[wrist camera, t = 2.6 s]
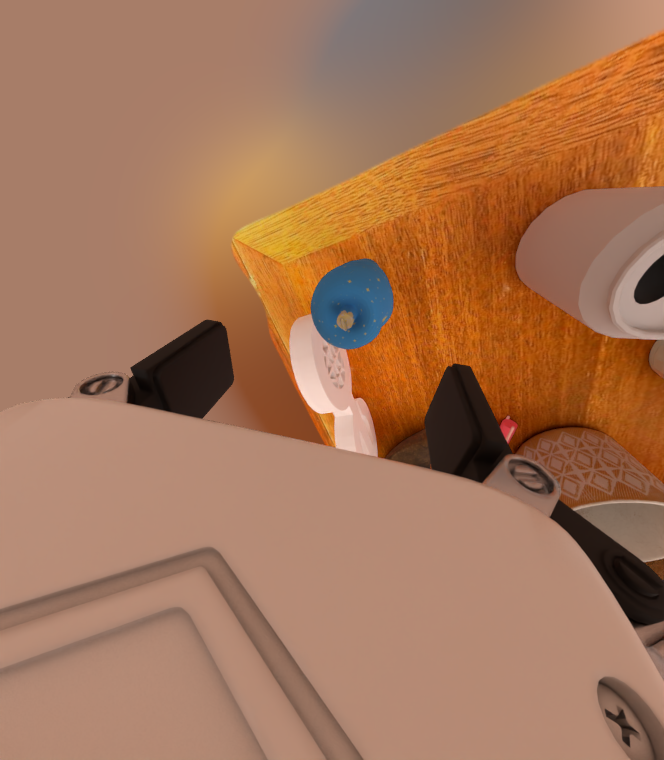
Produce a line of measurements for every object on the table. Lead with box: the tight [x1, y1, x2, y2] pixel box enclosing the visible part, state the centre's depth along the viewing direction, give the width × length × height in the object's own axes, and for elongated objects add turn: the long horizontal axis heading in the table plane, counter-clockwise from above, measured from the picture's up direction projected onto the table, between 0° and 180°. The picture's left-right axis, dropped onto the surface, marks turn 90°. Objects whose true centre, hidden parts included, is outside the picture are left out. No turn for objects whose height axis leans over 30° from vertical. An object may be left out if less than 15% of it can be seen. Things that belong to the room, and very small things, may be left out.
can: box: [516, 186, 664, 340], centre depth 17 cm, size 8×8×12 cm
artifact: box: [384, 429, 431, 469], centre depth 38 cm, size 9×5×20 cm
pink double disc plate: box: [290, 314, 378, 457], centre depth 30 cm, size 22×2×10 cm, turn 21°
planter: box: [516, 427, 664, 562], centre depth 30 cm, size 13×13×10 cm
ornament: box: [311, 259, 393, 349], centre depth 19 cm, size 5×5×15 cm
